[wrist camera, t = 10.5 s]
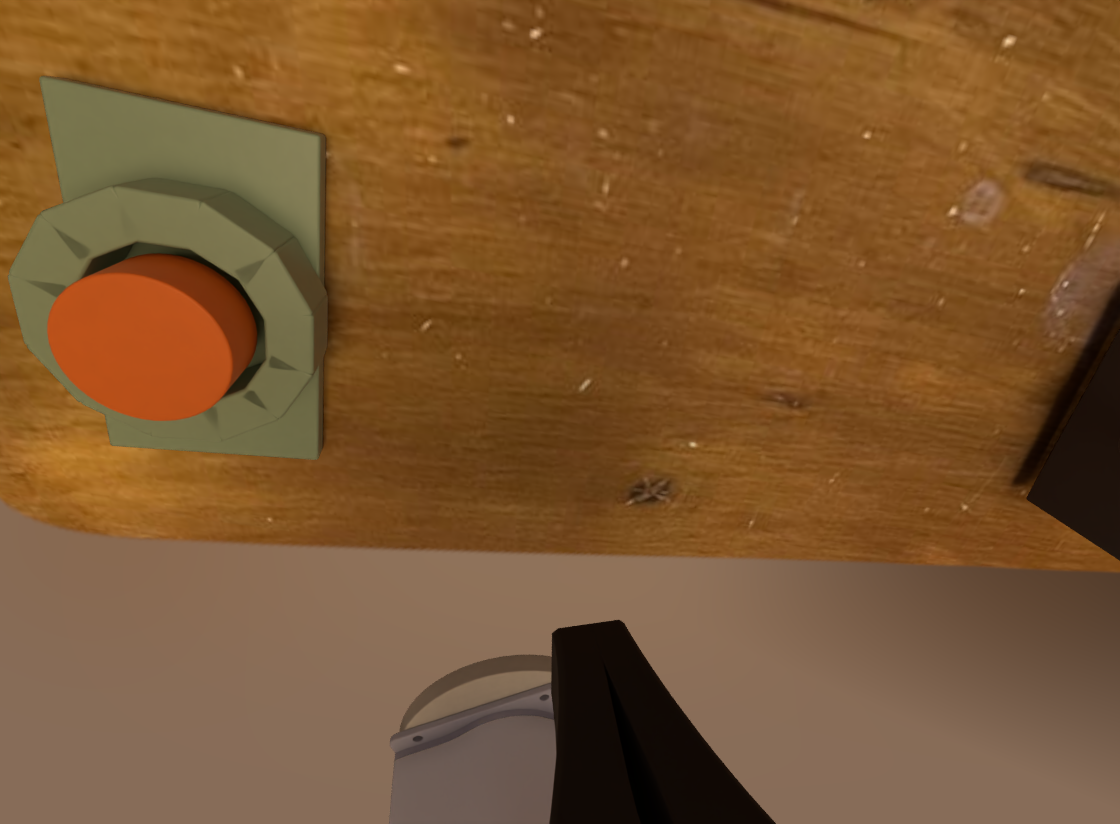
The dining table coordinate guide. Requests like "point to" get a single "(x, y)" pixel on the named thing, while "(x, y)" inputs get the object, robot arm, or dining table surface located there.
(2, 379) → the dining table surface
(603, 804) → the robot arm
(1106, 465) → the small knobbed drawer
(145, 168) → the control block
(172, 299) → the button
